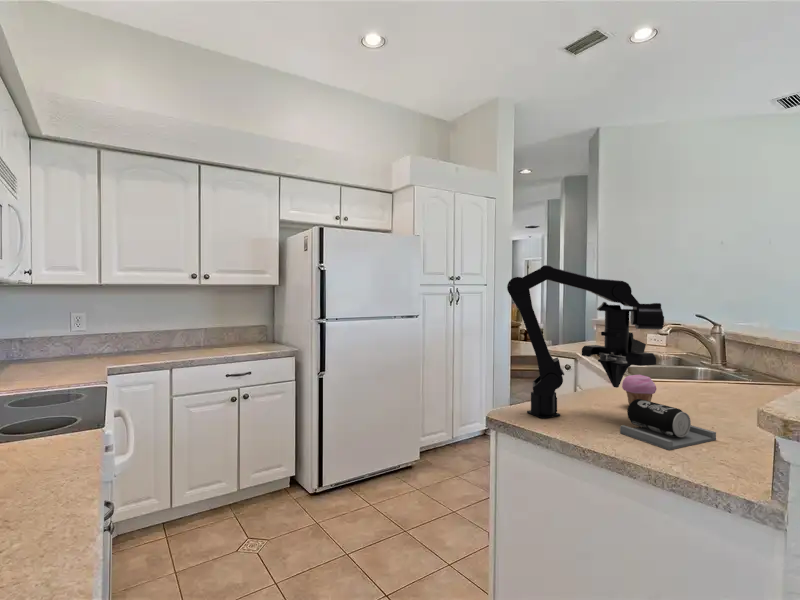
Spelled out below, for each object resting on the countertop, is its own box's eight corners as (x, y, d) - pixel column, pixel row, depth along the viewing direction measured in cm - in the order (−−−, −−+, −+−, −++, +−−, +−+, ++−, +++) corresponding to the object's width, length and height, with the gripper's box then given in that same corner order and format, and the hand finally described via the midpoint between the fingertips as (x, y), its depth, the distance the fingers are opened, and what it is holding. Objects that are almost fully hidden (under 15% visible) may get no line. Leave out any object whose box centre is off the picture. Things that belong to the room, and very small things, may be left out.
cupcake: (658, 414, 117) (658, 378, 117) (623, 410, 120) (623, 376, 120) (653, 406, 125) (653, 372, 125) (620, 403, 128) (620, 370, 128)
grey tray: (669, 450, 90) (669, 441, 90) (620, 433, 101) (620, 425, 101) (716, 439, 96) (716, 432, 96) (665, 425, 107) (665, 417, 107)
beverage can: (640, 393, 106) (687, 405, 95) (646, 416, 107) (695, 430, 96) (622, 405, 104) (669, 419, 93) (629, 428, 105) (676, 444, 94)
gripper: (672, 330, 105) (671, 392, 105) (609, 325, 122) (609, 378, 122) (640, 331, 101) (639, 396, 101) (580, 326, 118) (579, 381, 118)
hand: (615, 387), depth 111 cm, fingers closed
